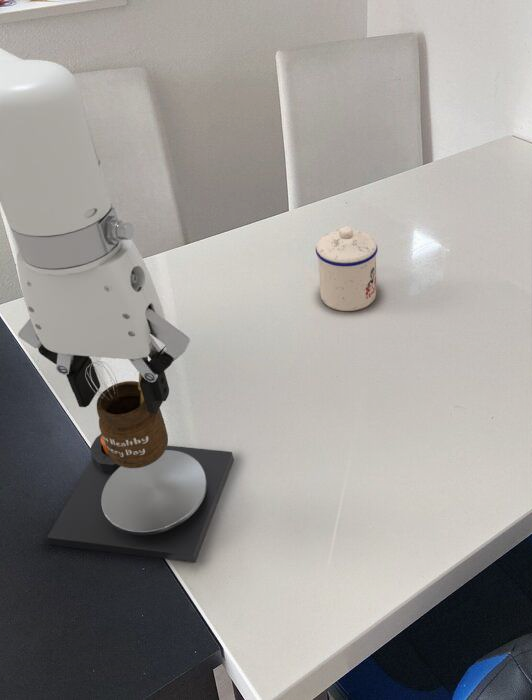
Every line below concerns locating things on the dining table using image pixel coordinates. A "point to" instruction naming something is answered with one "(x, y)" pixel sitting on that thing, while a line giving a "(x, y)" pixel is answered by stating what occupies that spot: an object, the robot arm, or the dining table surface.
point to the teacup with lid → (347, 269)
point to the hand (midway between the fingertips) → (123, 398)
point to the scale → (99, 534)
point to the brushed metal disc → (154, 494)
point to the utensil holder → (129, 424)
